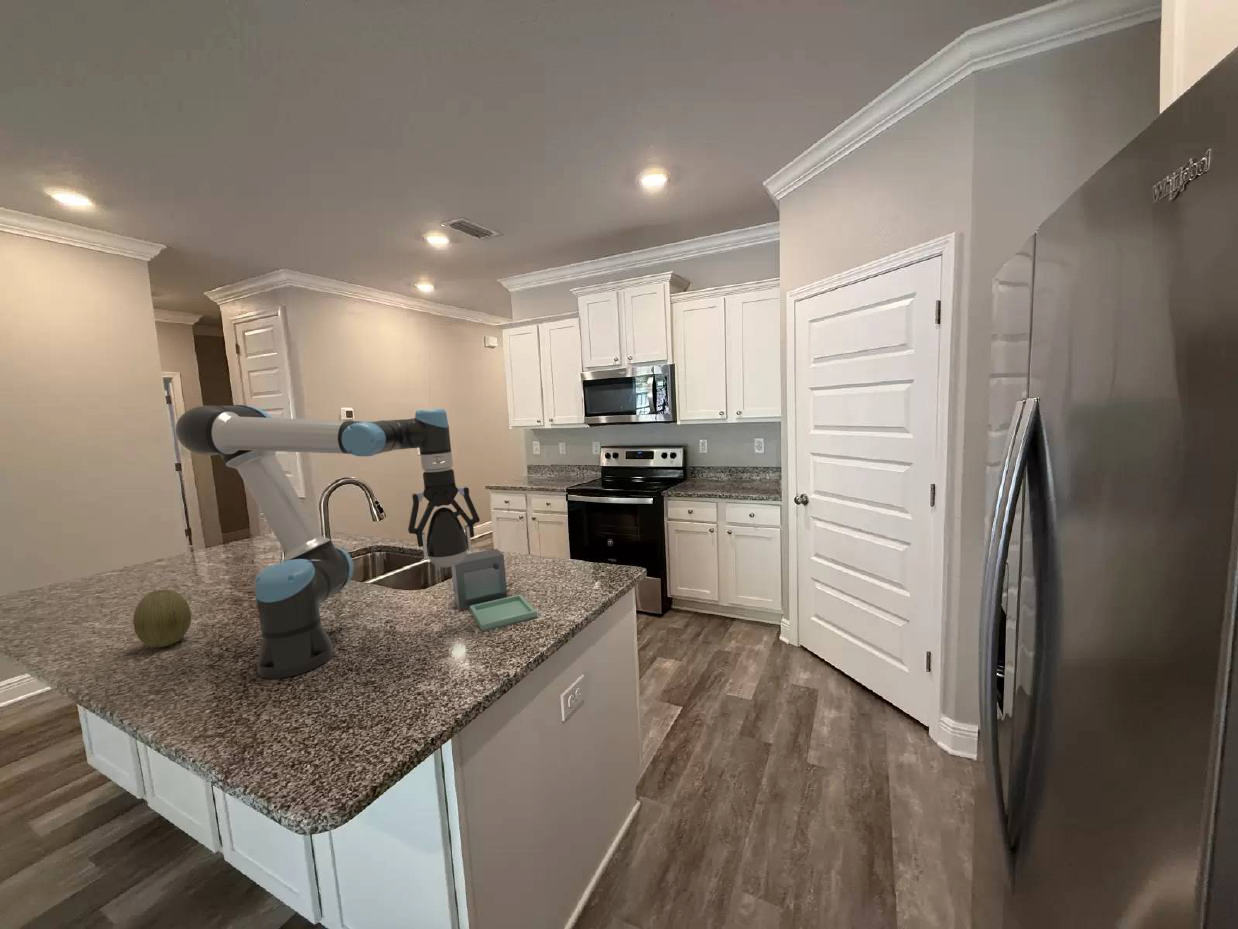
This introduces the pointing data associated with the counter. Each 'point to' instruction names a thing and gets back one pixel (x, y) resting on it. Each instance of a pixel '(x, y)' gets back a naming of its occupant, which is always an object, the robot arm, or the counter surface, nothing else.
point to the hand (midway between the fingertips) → (448, 554)
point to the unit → (479, 579)
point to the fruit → (162, 618)
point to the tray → (502, 612)
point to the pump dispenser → (446, 538)
